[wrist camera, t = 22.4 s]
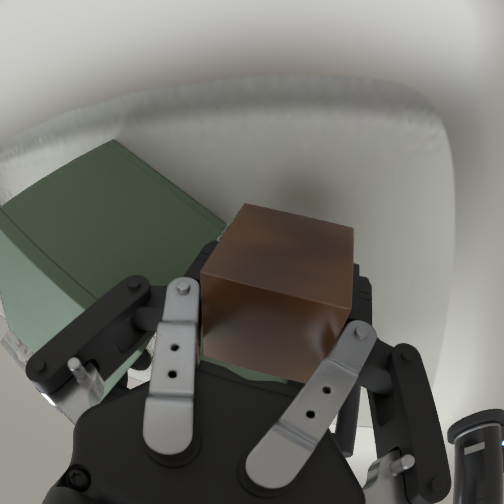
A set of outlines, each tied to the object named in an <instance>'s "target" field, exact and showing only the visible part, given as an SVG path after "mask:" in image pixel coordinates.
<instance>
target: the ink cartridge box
mask: <svg viewBox="0 0 504 504" xmlns="http://www.w3.org/2000/svg"><path fill="white" fill-rule="evenodd" d="M0 343H1V344H2V345H3V346H4V348H5V349H6V350H7V351H8V352H9V354H10V355H11V356H12V357H13V359H14V360H15V361H16V362H17V363H18V365H19V366H20V367H21V368H22V369H23V370H24V371H25V368H26V364H27V361H28V360H29V358H30V357H31V356H32V355H33V354H34V353H33V352H32V351H31V350H30V349H29V348H28V347H27V346H26V345H25V344H24V343H23V342H21V341H20V340H19V339H18V338H17V337H16V336H15V335H14V334H13V333H12V332H11V331H10V330H9V332H8V333H7V334H6V336H5V337H4V338H3V339H2V340H1V342H0ZM17 350H18V351H19V352H20V353H21V355H22V356H23V357H24V358H25V359H26V362H25V363H24V362H21V361H19V360H18V357H17V354H16V351H17ZM25 372H26V371H25Z"/></svg>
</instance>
